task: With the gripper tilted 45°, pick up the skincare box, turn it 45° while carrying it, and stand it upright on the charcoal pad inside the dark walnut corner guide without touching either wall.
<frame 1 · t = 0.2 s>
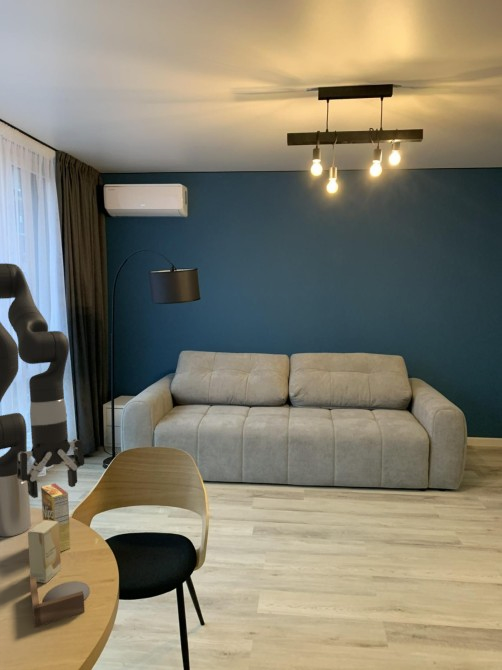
hand: (53, 491, 110), 23 cm above the table, tool pointing down, fingers open, 8 cm apart
corner guide: (65, 597, 108), on the table
skincare box: (46, 575, 116), on the table
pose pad: (67, 595, 108), on the table
candy box: (57, 545, 130), on the table
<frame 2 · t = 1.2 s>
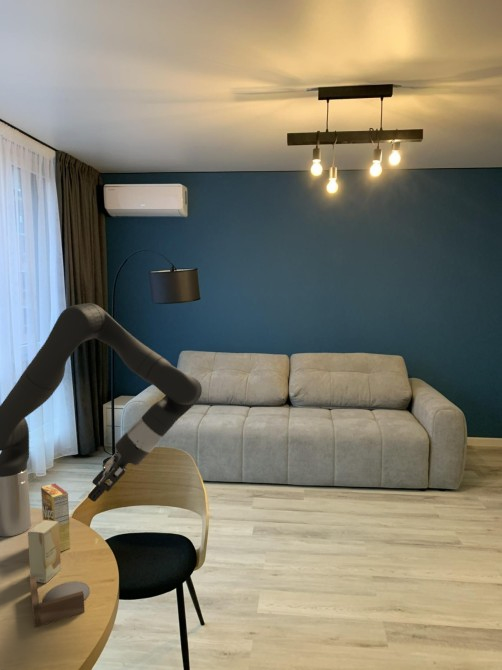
hand: (93, 491, 117), 20 cm above the table, tool tilted 45°, fingers open, 8 cm apart
nothing on the table moved.
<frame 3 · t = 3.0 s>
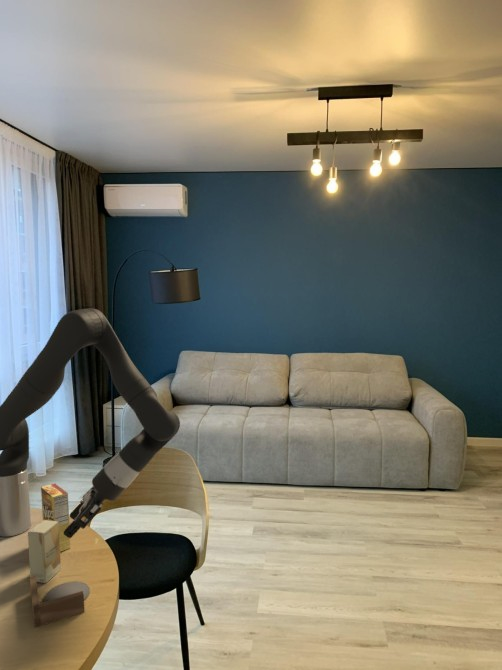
hand: (69, 526, 116), 11 cm above the table, tool tilted 45°, fingers open, 8 cm apart
nothing on the table moved.
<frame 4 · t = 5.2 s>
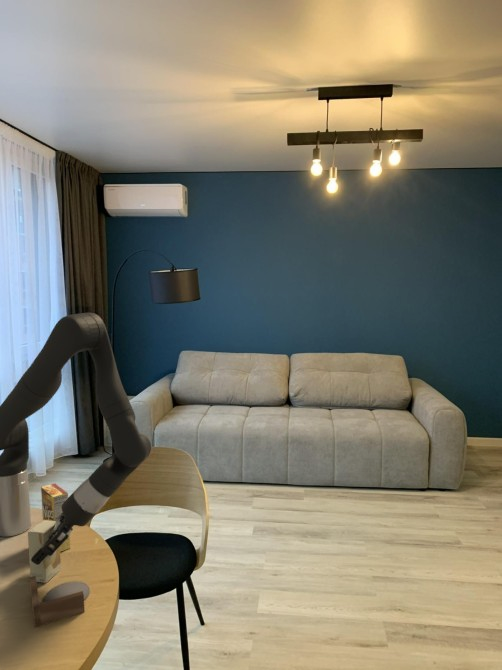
hand: (38, 552, 115), 6 cm above the table, tool tilted 45°, fingers closed on skincare box, 7 cm apart
skincare box: (46, 575, 116), on the table, touching gripper
everything else where it was.
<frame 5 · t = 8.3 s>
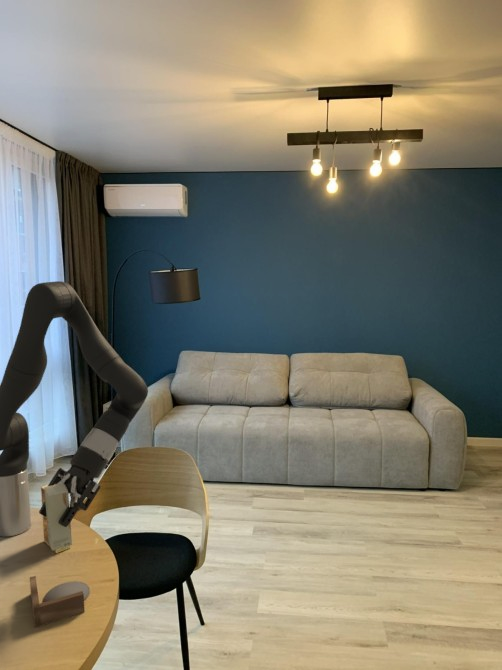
hand: (52, 520, 106), 18 cm above the table, tool tilted 45°, fingers closed on skincare box, 7 cm apart
skincare box: (60, 542, 108), point 12 cm above the table, touching gripper
everything else where it was.
when the fingers open (7 cm above the table, at t = 11.3 s): skincare box stays where it is, resting on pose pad.
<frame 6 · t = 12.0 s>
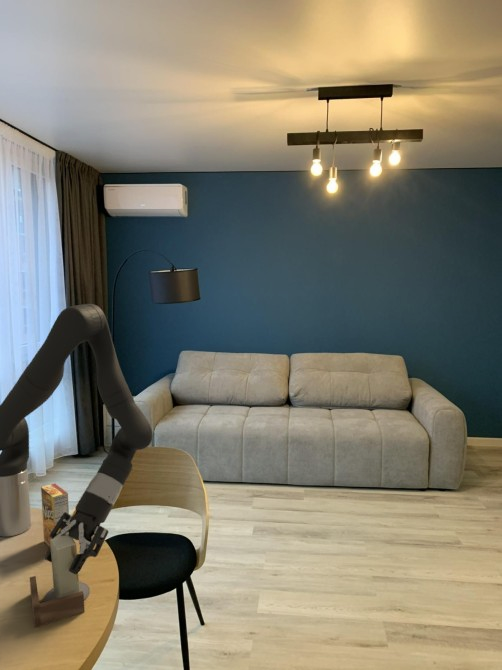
hand: (60, 566, 106), 7 cm above the table, tool tilted 45°, fingers open, 8 cm apart
skincare box: (66, 594, 109), resting on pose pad
everything else where it was.
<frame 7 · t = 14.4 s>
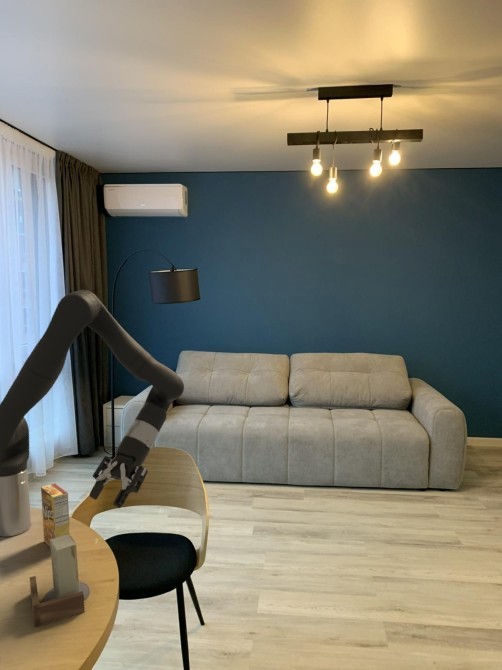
hand: (104, 502, 116), 17 cm above the table, tool tilted 45°, fingers open, 8 cm apart
nothing on the table moved.
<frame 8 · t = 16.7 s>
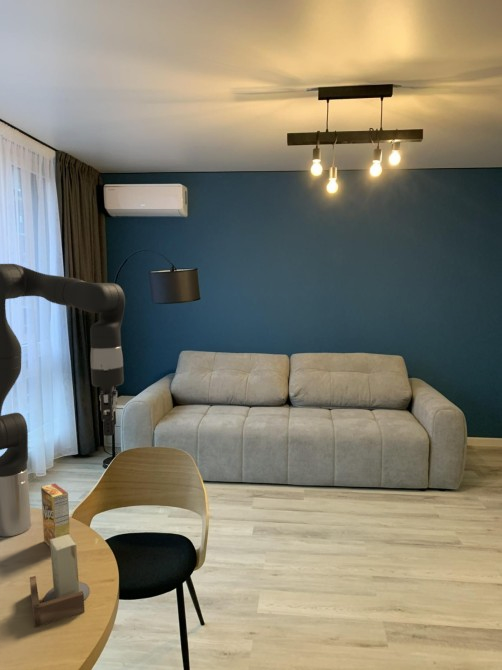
hand: (110, 430, 120), 33 cm above the table, tool pointing down, fingers open, 8 cm apart
nothing on the table moved.
at the end: skincare box tilted 0°; skincare box touching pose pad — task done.
